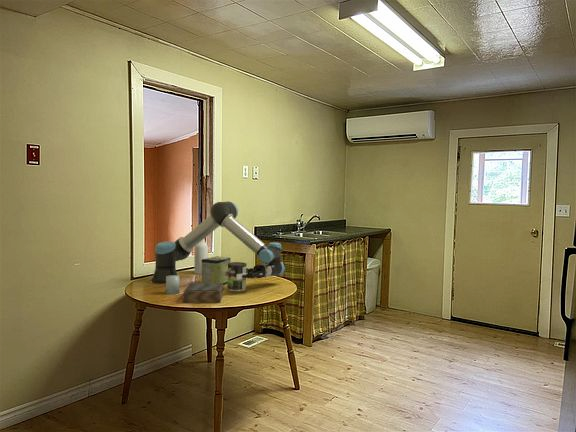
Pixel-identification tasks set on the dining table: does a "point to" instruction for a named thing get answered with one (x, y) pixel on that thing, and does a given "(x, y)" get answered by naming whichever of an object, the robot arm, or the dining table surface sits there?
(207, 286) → the podium
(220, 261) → the protein box
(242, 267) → the coffee can
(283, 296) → the dining table surface
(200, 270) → the alcohol
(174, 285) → the pale glossy cylinder
